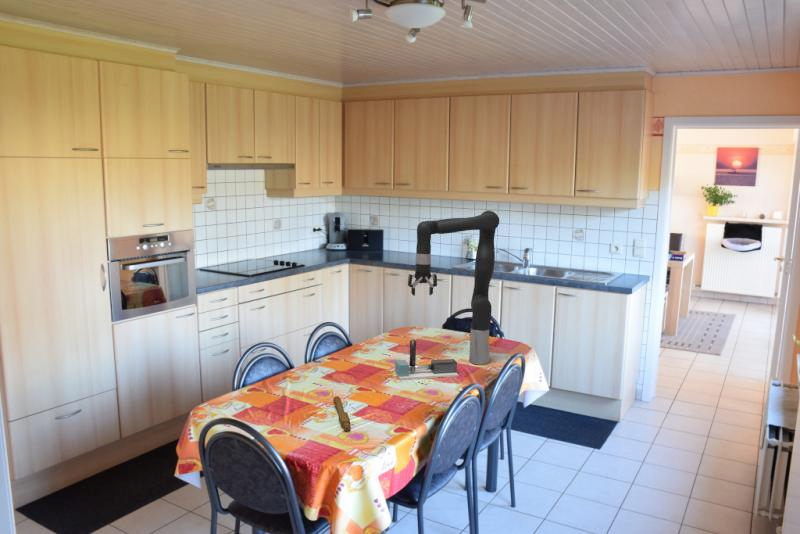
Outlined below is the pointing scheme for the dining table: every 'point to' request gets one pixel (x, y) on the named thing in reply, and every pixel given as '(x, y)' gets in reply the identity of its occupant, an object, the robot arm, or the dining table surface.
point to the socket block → (401, 368)
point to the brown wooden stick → (342, 414)
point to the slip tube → (412, 364)
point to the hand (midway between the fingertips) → (422, 295)
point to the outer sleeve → (444, 366)
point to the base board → (425, 375)
